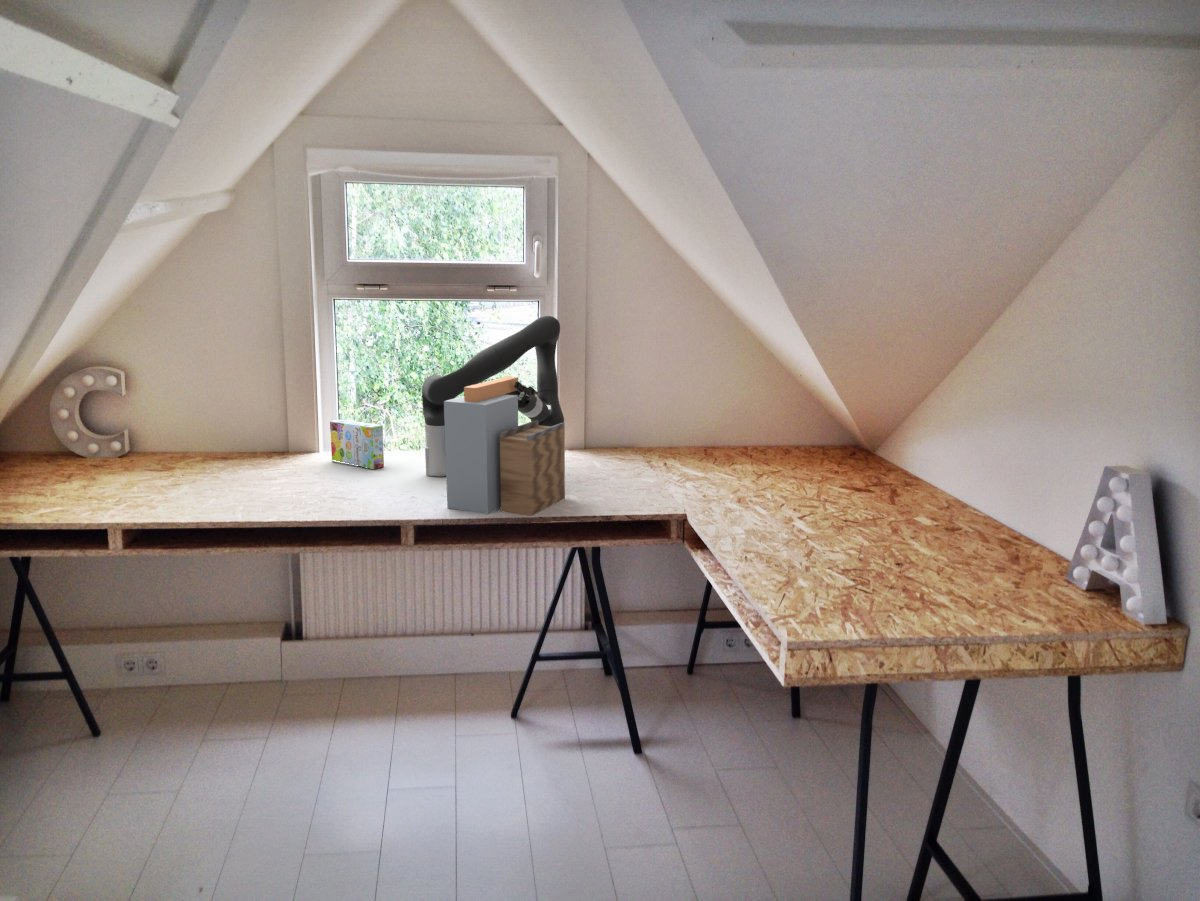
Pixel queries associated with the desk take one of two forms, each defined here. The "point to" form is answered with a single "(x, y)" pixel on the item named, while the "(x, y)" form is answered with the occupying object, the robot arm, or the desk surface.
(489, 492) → the grey tall rectangular block
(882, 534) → the desk surface
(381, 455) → the snack box
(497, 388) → the rail
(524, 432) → the wood grain block
